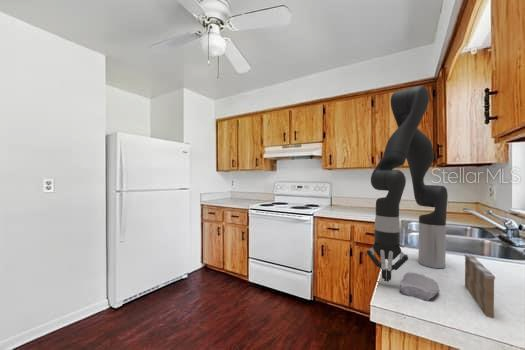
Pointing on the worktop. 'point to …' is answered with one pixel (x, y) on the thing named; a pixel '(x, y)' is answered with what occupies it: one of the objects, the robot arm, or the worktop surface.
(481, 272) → the walnut wall board
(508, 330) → the worktop surface
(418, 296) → the stone block
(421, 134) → the robot arm
